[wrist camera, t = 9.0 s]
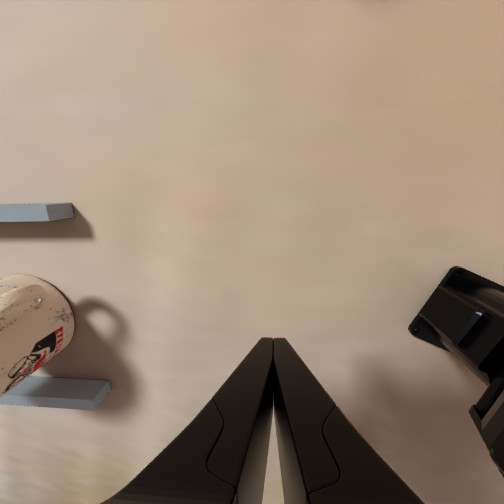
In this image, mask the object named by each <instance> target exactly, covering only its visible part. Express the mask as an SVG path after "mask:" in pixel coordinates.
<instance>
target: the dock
mask: <svg viewBox="0 0 504 504" xmlns="http://www.w3.org/2000/svg"><path fill="white" fill-rule="evenodd" d="M73 217H74V213H73V208H72V204H71V203H48V204H6V205H0V222H24V221H53V220H60V219H66V218H73ZM110 391H111V385H110V381H109V380H91V379H70V378H50V377H29V376H28V377H27V378H25V379H24V380H23V381H21V382H20V383H19V384H18V385H16V386H15V387H14V388H12V389H11V390H10V391H9V392H7V393H6V394H5V395H3V396H2V397H1V398H0V404H2V405H18V406H35V407H51V408H67V409H83V410H96V409H97V407H98V406H99V405H100V404H101V402H102V401H103V400H104V399H105V397H106V396H107V395H108V394H109V392H110Z"/></svg>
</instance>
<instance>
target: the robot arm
mask: <svg viewBox="0 0 504 504" xmlns="http://www.w3.org/2000/svg"><path fill="white" fill-rule="evenodd" d="M458 271H459V274H457V275H456V272H458ZM416 328H418V329H417V330H416V331H414V330H415V329H416ZM408 330H409V332H410V333H411V334H412V335H414V336H416V337H418V338H420V339H422V340H425V341H427V342H429V343H432V344H434V345H436V346H438V347H441V348H443V349H445V350H447V351H450V352H452V353H453V354H454V355H455V356H456V357H457V358H458V359H459V360H460V361H461V362H462V363H463V364H465V365H466V366H467V367H468V368H469V369H470V370H471V371H472V372H473V373H474V374H475V375H476V376H477V377H478V378H479V379H481V380H482V381H483V382H484V383H485V384H486V385H487V386H488V388H487V390H486V391H485V392H484V394H483V395H482V397H481V398H480V399H479V401H478V402H477V404H476V405H472V407H471V408H470V410H469V413H470V415H471V417H472V419H473V421H474V423H475V425H476V427H477V429H478V431H479V433H480V434H481V436H482V438H483V440H484V442H485V444H486V446H487V448H488V450H489V452H490V456H491V458H492V460H493V462H494V463H495V464H496V466H497V467H498V469H499V471H500V472H501V474H502V475H503V477H504V286H501V285H499V284H497V283H495V282H493V281H490V280H488V279H486V278H484V277H481V276H479V275H477V274H475V273H473V272H470V271H468V270H466V269H464V268H461V267H459V266H454V267H452V268H451V269H450V270H449V271H448V273H447V274H446V276H445V277H444V278H443V280H442V281H441V283H440V284H439V285H438V287H437V288H436V289H435V291H434V292H433V294H432V295H431V296H430V298H429V299H428V301H427V302H426V303H425V305H424V306H423V308H422V309H421V310H420V312H419V313H418V315H417V316H416V317H415V319H414V320H413V321H412V323H411V324H410V326H409V328H408ZM273 392H274V416H275V425H276V433H277V442H278V451H279V459H280V468H281V477H282V485H283V494H284V503H285V504H424V503H423V502H422V501H421V500H420V498H419V497H418V496H417V495H416V494H415V493H414V492H413V491H412V490H411V489H410V488H409V487H408V486H407V485H406V484H405V483H404V481H403V480H402V479H401V478H400V477H399V476H398V475H397V474H396V473H395V472H394V471H393V470H392V469H391V468H390V467H389V465H388V464H387V463H386V462H385V461H384V460H383V459H382V458H381V457H380V456H379V455H378V454H377V453H376V452H375V450H374V449H373V448H372V447H371V446H370V445H369V444H368V443H367V442H366V440H365V439H364V438H363V437H362V436H361V435H360V434H359V433H358V431H357V430H356V429H355V428H354V427H353V425H352V424H351V423H350V422H349V420H348V419H347V418H346V417H345V415H344V414H343V413H342V411H341V410H340V409H339V407H338V406H336V404H335V402H334V401H333V400H332V399H331V397H330V396H329V395H328V393H327V392H326V391H325V389H324V388H323V387H322V385H321V384H320V383H319V382H318V380H317V379H316V378H315V376H314V375H313V374H312V372H311V371H310V370H309V369H308V367H307V366H306V365H305V363H304V362H303V361H302V359H301V358H300V357H299V355H298V354H297V353H296V352H295V350H294V349H293V348H292V346H291V345H290V344H289V342H288V341H287V340H286V339H285V338H274V340H273V338H266V337H262V338H261V339H260V340H259V341H258V342H257V344H256V345H255V346H254V347H253V349H252V350H251V351H250V352H249V353H248V355H247V356H246V357H245V358H244V360H243V361H242V362H241V363H240V364H239V366H238V367H237V368H236V369H235V370H234V372H233V373H232V374H231V375H230V377H229V378H228V379H227V380H226V381H225V383H224V384H223V385H222V386H221V387H220V389H219V390H218V391H217V392H216V394H215V395H214V396H213V397H212V399H211V400H210V401H209V402H208V403H207V404H206V406H205V407H204V408H203V409H202V410H201V411H200V413H199V414H198V415H197V416H196V417H195V418H194V419H193V421H192V422H191V423H190V424H189V425H188V426H187V427H186V428H185V429H184V430H183V431H182V432H181V433H180V434H179V435H178V436H177V437H176V438H175V439H174V440H173V441H172V442H171V443H170V444H169V445H168V446H167V447H166V448H165V449H164V450H163V451H162V452H161V453H160V454H159V455H158V456H157V457H156V458H155V459H154V460H153V461H152V462H150V463H149V464H148V465H147V466H146V467H145V468H144V469H143V470H142V471H141V472H140V473H139V474H138V475H137V476H136V477H135V478H134V479H133V480H132V481H131V482H130V483H129V484H128V485H126V486H125V487H124V488H123V489H122V490H120V491H119V492H118V493H116V494H115V495H113V496H112V497H111V498H109V499H108V500H106V501H104V502H102V503H100V504H262V498H263V489H264V481H265V473H266V465H267V456H268V448H269V440H270V432H271V423H272V415H273Z"/></svg>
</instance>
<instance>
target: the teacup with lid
mask: <svg viewBox="0 0 504 504" xmlns="http://www.w3.org/2000/svg"><path fill="white" fill-rule="evenodd" d="M74 325H75V324H74V317H73V313H72V310H71V308H70V306H69V304H68V302H67V301H66V299H65V298H64V297H63V296H62V294H61V293H60V292H59V291H58V290H57V289H55V288H54V287H53V286H52V285H50V284H49V283H47V282H45V281H43V280H41V279H39V278H36V277H33V276H28V275H12V276H8V277H5V278H2V279H0V398H1V397H2V396H3V395H5V394H6V393H7V392H9V391H10V390H11V389H12V388H14V387H15V386H16V385H18V384H19V383H20V382H21V381H23V380H24V379H25V378H27V377H28V376H29V375H31V374H32V373H33V372H34V371H36V370H37V369H38V368H40V367H41V366H42V365H44V364H45V363H46V362H47V361H49V360H50V359H51V358H53V357H54V356H55V355H57V354H58V353H59V352H60V351H62V350H63V349H64V348H65V347H66V346H67V345H68V344H69V342H70V341H71V339H72V337H73V333H74Z"/></svg>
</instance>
